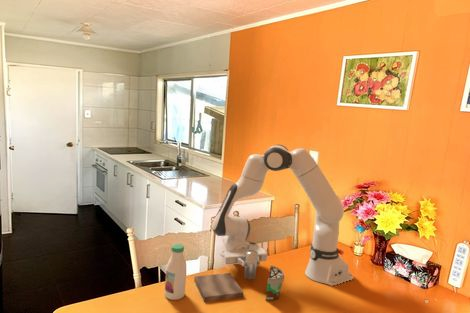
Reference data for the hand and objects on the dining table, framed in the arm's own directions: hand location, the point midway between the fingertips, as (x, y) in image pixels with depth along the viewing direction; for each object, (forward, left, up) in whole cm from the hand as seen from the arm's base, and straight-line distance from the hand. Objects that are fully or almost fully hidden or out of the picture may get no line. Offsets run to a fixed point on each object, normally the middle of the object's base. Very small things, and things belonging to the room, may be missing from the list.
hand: (251, 263), depth 143 cm
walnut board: (+15, +2, -9) cm, 18 cm away
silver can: (0, -1, -6) cm, 6 cm away
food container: (-6, +12, -9) cm, 16 cm away
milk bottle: (+33, +3, -9) cm, 35 cm away
